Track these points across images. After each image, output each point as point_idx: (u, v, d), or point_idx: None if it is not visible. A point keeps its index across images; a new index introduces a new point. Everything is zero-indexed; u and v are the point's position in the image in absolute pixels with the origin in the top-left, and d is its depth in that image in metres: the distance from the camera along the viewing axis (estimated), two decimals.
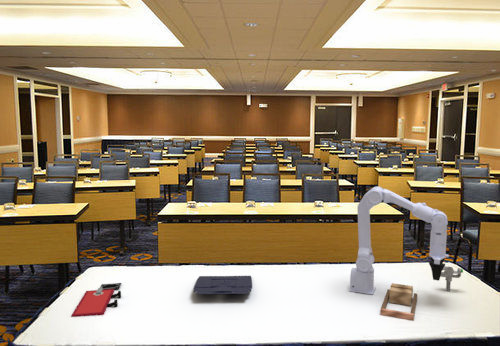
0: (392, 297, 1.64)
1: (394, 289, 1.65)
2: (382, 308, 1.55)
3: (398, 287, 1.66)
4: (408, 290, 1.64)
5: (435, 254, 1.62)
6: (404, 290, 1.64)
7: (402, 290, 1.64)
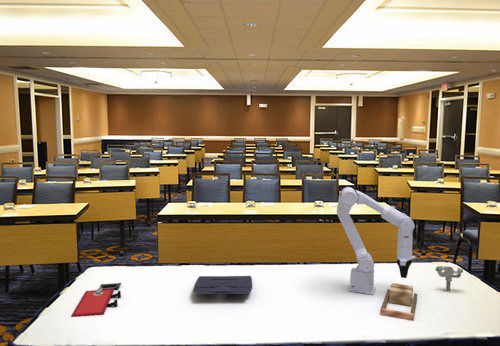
0: (392, 297, 1.64)
1: (394, 289, 1.65)
2: (382, 308, 1.55)
3: (398, 287, 1.66)
4: (408, 290, 1.64)
5: (402, 256, 1.71)
6: (404, 290, 1.64)
7: (402, 290, 1.64)
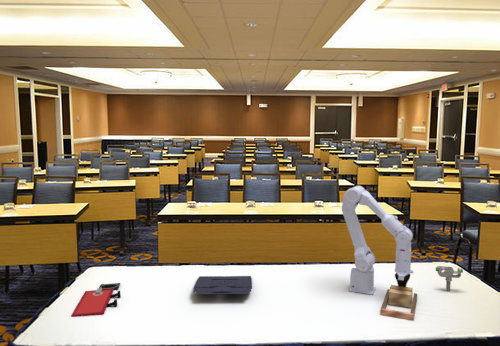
0: (391, 299, 1.62)
1: (393, 291, 1.63)
2: (382, 308, 1.55)
3: (397, 289, 1.64)
4: (408, 292, 1.62)
5: (400, 270, 1.66)
6: (404, 292, 1.62)
7: (402, 292, 1.62)
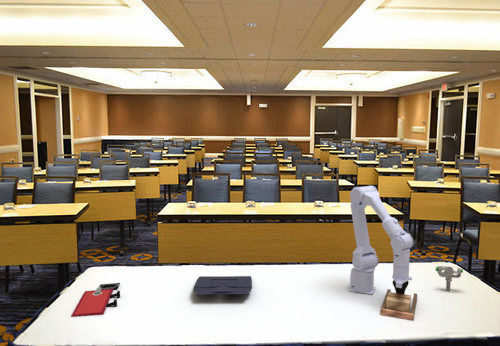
0: (388, 307, 1.55)
1: (391, 299, 1.56)
2: (382, 308, 1.55)
3: (395, 296, 1.57)
4: (406, 300, 1.55)
5: (398, 277, 1.59)
6: (402, 300, 1.55)
7: (399, 300, 1.55)
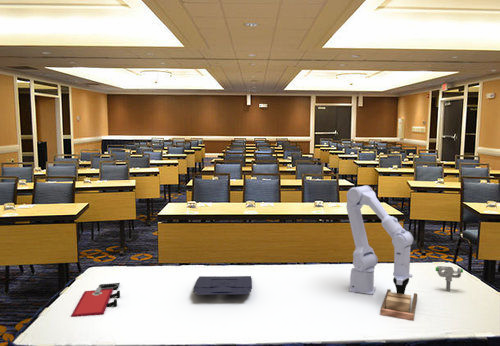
0: (388, 307, 1.55)
1: (391, 299, 1.56)
2: (382, 308, 1.55)
3: (395, 296, 1.57)
4: (406, 300, 1.55)
5: (398, 274, 1.62)
6: (402, 300, 1.55)
7: (399, 300, 1.55)
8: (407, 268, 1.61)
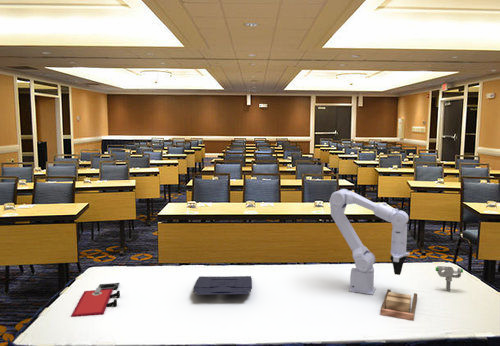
0: (388, 307, 1.55)
1: (391, 299, 1.56)
2: (382, 308, 1.55)
3: (395, 296, 1.57)
4: (406, 300, 1.55)
5: (395, 252, 1.67)
6: (402, 300, 1.55)
7: (399, 300, 1.55)
8: (404, 246, 1.66)
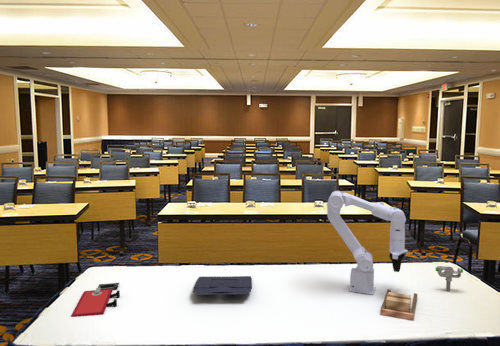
0: (388, 307, 1.55)
1: (391, 299, 1.56)
2: (382, 308, 1.55)
3: (395, 296, 1.57)
4: (406, 300, 1.55)
5: (394, 250, 1.70)
6: (402, 300, 1.55)
7: (399, 300, 1.55)
8: (402, 243, 1.69)
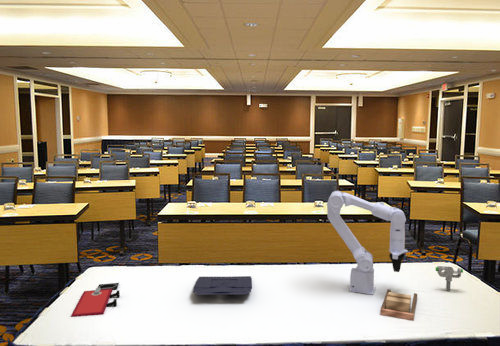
0: (388, 307, 1.55)
1: (391, 299, 1.56)
2: (382, 308, 1.55)
3: (395, 296, 1.57)
4: (406, 300, 1.55)
5: (394, 250, 1.70)
6: (402, 300, 1.55)
7: (399, 300, 1.55)
8: (402, 243, 1.69)
